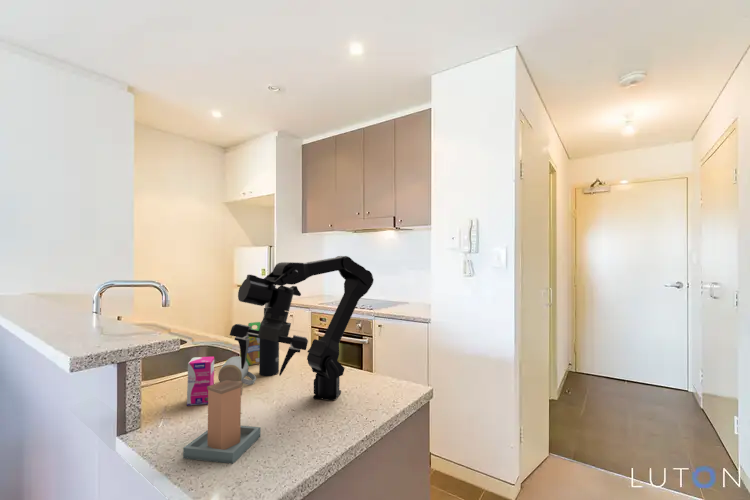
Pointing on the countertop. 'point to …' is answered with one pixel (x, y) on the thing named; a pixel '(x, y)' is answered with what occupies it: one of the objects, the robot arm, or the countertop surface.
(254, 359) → the chalk box
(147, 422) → the countertop surface
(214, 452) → the slate tray
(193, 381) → the supplement box
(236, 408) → the tan lidded box
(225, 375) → the ceramic mug
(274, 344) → the wine bottle
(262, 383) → the countertop surface
